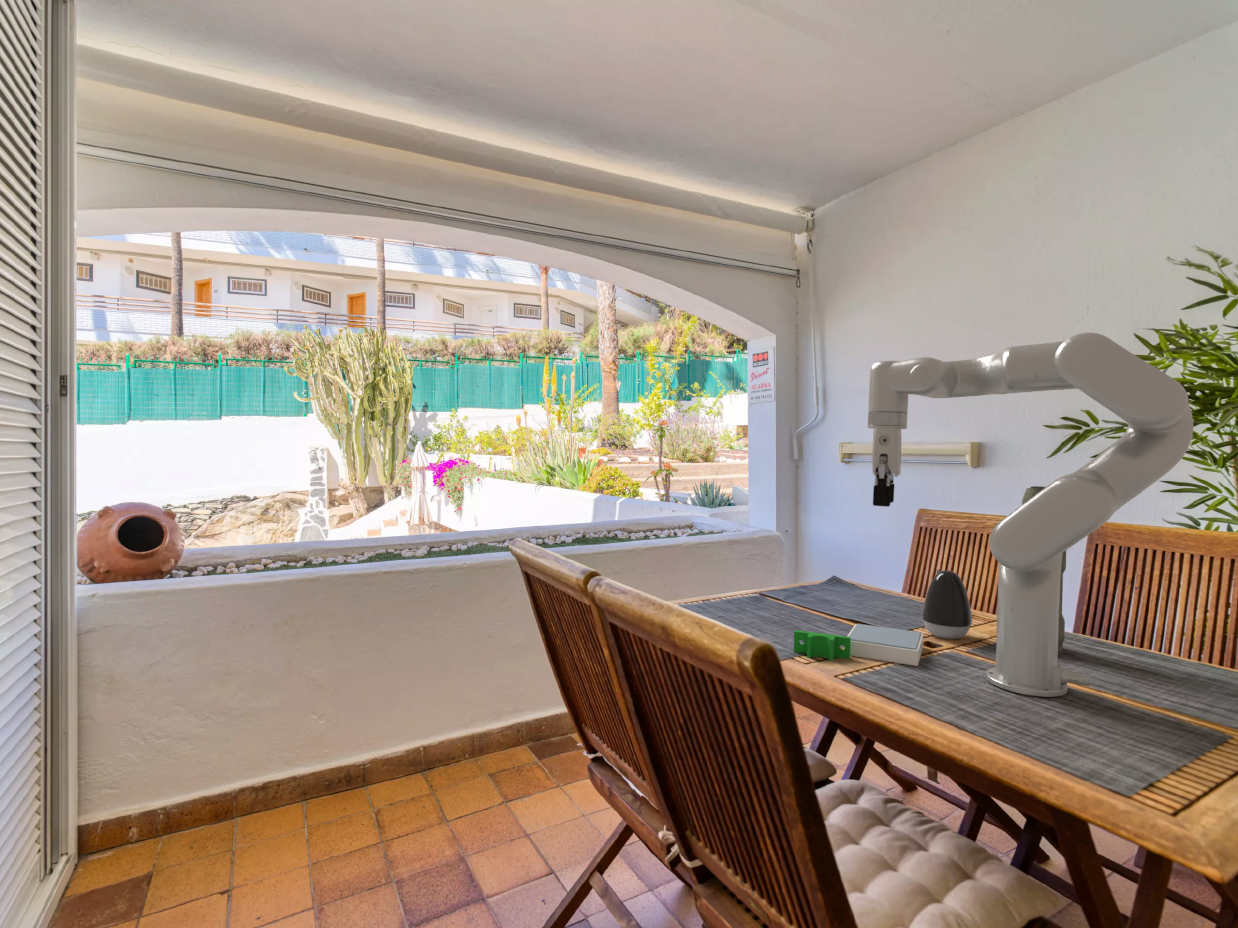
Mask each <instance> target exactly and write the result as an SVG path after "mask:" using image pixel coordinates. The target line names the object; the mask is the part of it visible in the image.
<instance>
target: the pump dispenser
mask: <svg viewBox="0 0 1238 928" xmlns="http://www.w3.org/2000/svg"><path fill="white" fill-rule="evenodd" d="M922 607H923V608H922V614H921V618H922V620H923V623H924V624H923V625H925V626H924V627H925V628H926V630H927V631H928V632H929V633H930V634H932V635H933V636H935V638H940V639H945V640H958V639H960V638H963V637H965V636H966V635H967V634H968V632H969V630H970V628H971V625H973V616H972V610H971V609H972V608H971V603H970V600H969V595H968V593H967V589H966V587H965V585H964V582H963V581H962V578H961V577H960V575H959V574H957V572H954V571H952V570H950V569H949V570H947V569H945V570H944V569H943V570H941V569H937V570H936V574H935V575H934V577H933V578H932V580H931V582H930V584H929V587H928V588H927V591H926V595H925V598H924V602H923V605H922Z"/></svg>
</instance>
